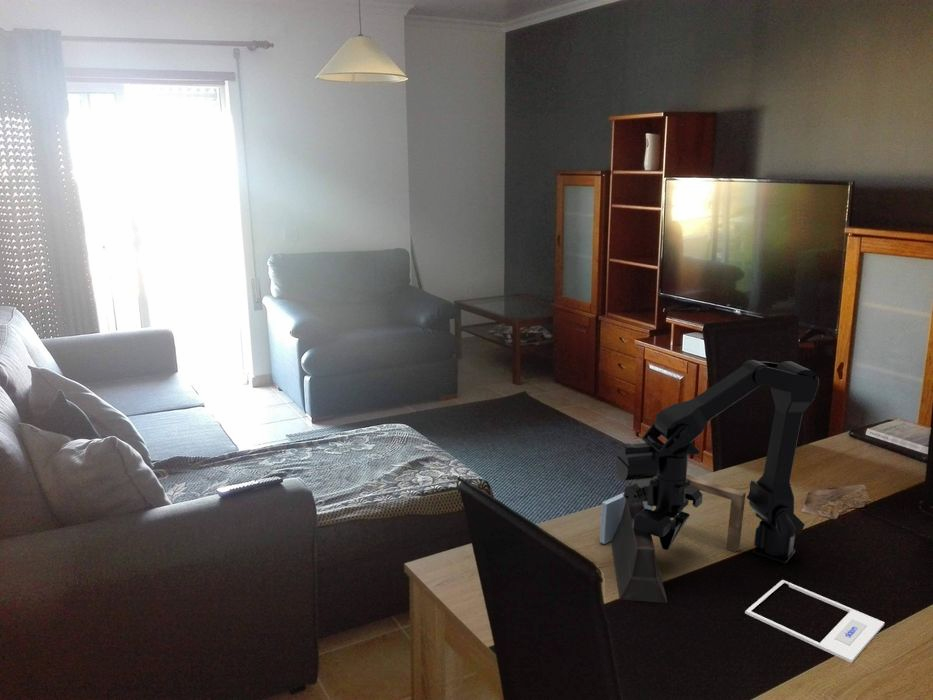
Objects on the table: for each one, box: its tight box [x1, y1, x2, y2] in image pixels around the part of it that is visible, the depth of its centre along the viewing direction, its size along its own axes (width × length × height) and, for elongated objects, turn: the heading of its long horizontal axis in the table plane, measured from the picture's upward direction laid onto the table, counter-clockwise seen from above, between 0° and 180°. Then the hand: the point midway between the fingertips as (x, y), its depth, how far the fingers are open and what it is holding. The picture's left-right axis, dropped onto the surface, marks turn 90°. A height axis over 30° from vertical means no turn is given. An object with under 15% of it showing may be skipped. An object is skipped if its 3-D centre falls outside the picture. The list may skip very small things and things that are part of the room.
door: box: [598, 492, 654, 545], centre depth 159 cm, size 16×3×9 cm, turn 130°
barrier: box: [610, 500, 668, 603], centre depth 146 cm, size 24×9×10 cm, turn 174°
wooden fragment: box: [800, 484, 872, 520], centre depth 175 cm, size 26×11×1 cm, turn 122°
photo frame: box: [744, 579, 885, 664], centre depth 131 cm, size 15×1×18 cm
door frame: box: [635, 474, 747, 553], centre depth 159 cm, size 23×2×12 cm, turn 50°
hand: (665, 548), depth 147 cm, fingers closed
